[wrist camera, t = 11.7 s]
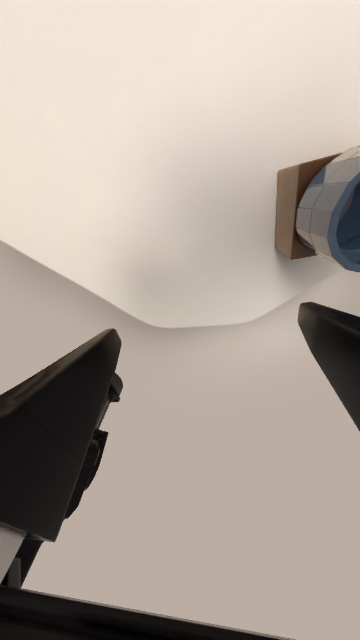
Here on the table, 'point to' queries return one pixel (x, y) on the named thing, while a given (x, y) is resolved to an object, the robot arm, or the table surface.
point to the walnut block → (294, 205)
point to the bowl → (333, 212)
